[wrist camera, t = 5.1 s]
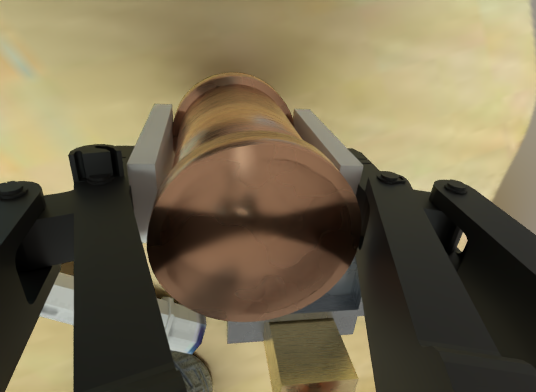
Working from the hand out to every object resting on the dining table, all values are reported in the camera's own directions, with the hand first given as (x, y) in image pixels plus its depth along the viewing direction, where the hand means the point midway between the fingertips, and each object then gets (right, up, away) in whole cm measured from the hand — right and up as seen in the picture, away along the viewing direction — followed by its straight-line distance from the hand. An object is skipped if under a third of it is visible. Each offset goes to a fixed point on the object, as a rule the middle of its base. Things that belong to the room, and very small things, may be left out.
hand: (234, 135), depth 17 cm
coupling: (0, 0, 0) cm, 0 cm away
